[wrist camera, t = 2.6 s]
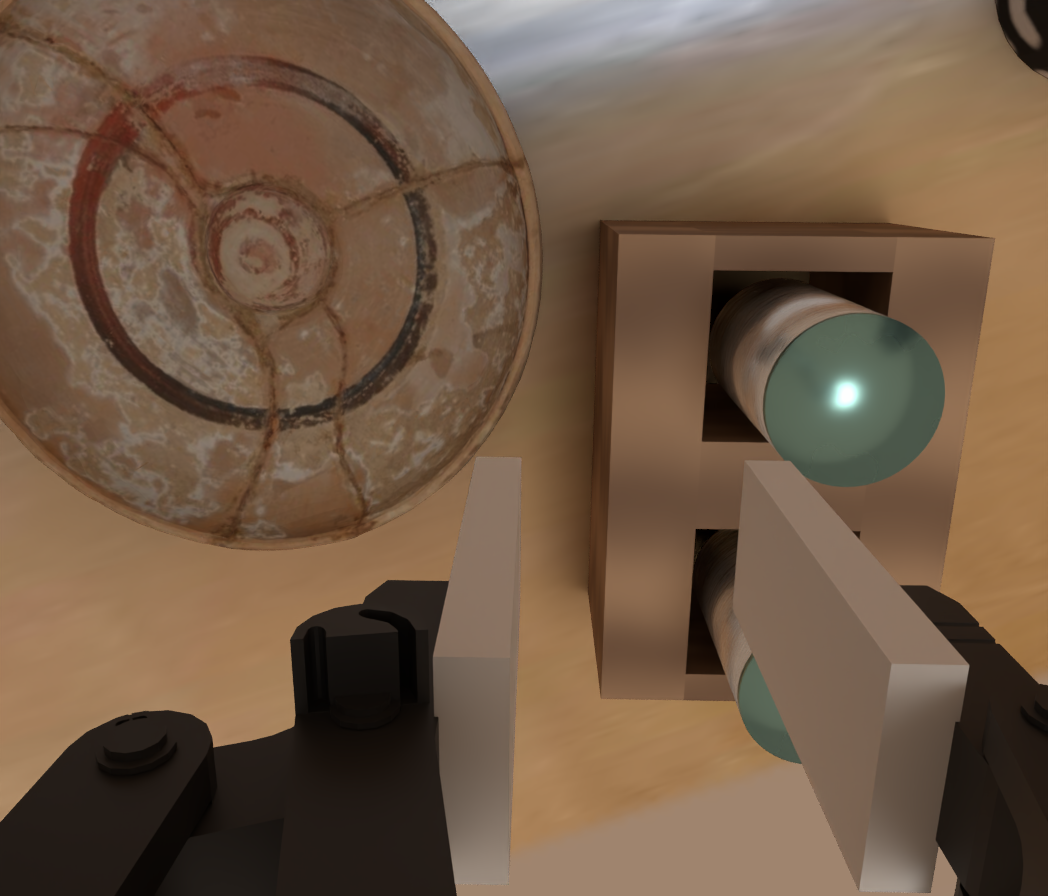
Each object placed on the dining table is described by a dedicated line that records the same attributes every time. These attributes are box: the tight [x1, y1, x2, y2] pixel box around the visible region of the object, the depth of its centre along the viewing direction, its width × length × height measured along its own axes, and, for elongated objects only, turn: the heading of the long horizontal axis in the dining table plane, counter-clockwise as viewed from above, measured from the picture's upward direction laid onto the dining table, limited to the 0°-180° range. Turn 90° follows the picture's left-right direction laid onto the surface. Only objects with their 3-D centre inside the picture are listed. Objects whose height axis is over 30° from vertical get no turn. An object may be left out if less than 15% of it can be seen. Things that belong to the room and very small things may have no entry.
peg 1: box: [693, 529, 802, 764], centre depth 31 cm, size 5×5×8 cm
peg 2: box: [709, 278, 945, 487], centre depth 29 cm, size 5×5×8 cm
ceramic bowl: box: [0, 0, 543, 550], centre depth 36 cm, size 23×24×5 cm
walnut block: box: [588, 220, 995, 701], centre depth 36 cm, size 17×12×9 cm
